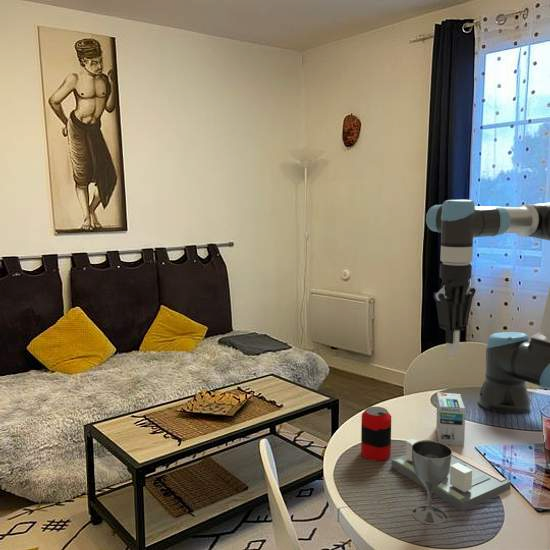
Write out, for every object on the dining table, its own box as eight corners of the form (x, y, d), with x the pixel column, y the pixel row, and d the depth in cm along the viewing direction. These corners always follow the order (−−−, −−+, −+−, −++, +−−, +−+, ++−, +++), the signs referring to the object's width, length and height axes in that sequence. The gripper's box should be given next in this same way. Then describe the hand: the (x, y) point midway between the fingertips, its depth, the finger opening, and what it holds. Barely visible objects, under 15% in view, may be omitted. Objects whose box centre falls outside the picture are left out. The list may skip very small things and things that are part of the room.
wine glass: (405, 505, 121) (406, 441, 118) (440, 502, 121) (442, 439, 119) (417, 527, 113) (419, 459, 110) (455, 524, 114) (457, 457, 111)
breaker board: (437, 450, 145) (437, 442, 144) (510, 489, 126) (510, 480, 126) (391, 466, 137) (391, 458, 136) (461, 511, 118) (462, 501, 118)
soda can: (373, 464, 138) (373, 419, 136) (355, 451, 145) (355, 408, 143) (396, 457, 142) (397, 413, 140) (378, 445, 148) (379, 403, 146)
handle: (412, 455, 137) (413, 438, 137) (424, 462, 134) (425, 445, 133) (405, 458, 136) (406, 441, 135) (417, 464, 133) (418, 447, 132)
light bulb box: (464, 446, 147) (466, 408, 145) (438, 444, 148) (439, 406, 146) (459, 428, 157) (461, 393, 155) (435, 427, 159) (436, 391, 157)
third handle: (457, 480, 125) (457, 462, 125) (471, 489, 122) (472, 470, 121) (449, 483, 124) (450, 465, 123) (463, 492, 121) (464, 473, 120)
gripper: (461, 259, 142) (458, 346, 146) (425, 263, 136) (422, 355, 140) (486, 262, 136) (481, 354, 140) (449, 267, 129) (445, 363, 133)
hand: (452, 354), depth 140 cm, fingers closed
